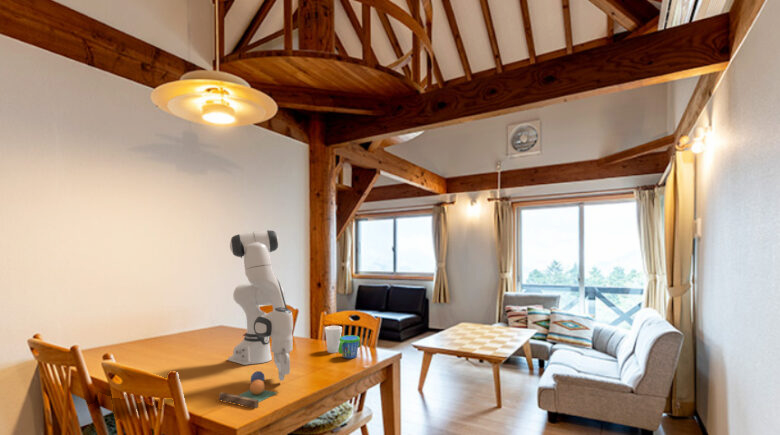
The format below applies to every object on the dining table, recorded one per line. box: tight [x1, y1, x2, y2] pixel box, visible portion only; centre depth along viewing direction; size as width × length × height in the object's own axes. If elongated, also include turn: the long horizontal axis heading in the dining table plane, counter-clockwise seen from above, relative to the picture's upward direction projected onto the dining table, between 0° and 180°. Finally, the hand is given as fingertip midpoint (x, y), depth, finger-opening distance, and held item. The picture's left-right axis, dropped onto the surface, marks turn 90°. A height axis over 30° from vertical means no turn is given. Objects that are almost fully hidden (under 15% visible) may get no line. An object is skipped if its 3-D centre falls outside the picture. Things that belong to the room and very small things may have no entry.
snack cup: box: [337, 334, 361, 359], centre depth 207 cm, size 16×11×10 cm
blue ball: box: [250, 370, 265, 383], centre depth 165 cm, size 6×6×6 cm
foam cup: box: [324, 325, 343, 354], centre depth 219 cm, size 10×9×13 cm
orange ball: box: [249, 379, 266, 395], centre depth 154 cm, size 6×6×6 cm
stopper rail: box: [218, 392, 259, 409], centre depth 145 cm, size 18×2×2 cm, turn 65°
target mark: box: [237, 389, 278, 403], centre depth 153 cm, size 12×12×1 cm
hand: (281, 379), depth 167 cm, fingers closed
